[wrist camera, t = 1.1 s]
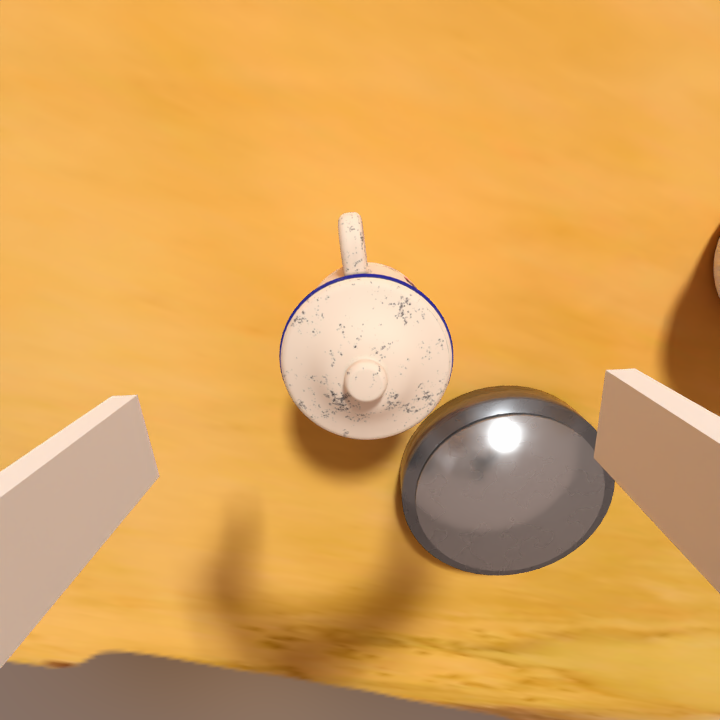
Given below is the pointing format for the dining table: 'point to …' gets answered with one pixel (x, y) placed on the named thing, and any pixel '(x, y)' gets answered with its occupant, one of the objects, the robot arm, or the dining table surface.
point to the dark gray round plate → (503, 481)
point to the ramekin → (717, 267)
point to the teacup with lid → (365, 347)
